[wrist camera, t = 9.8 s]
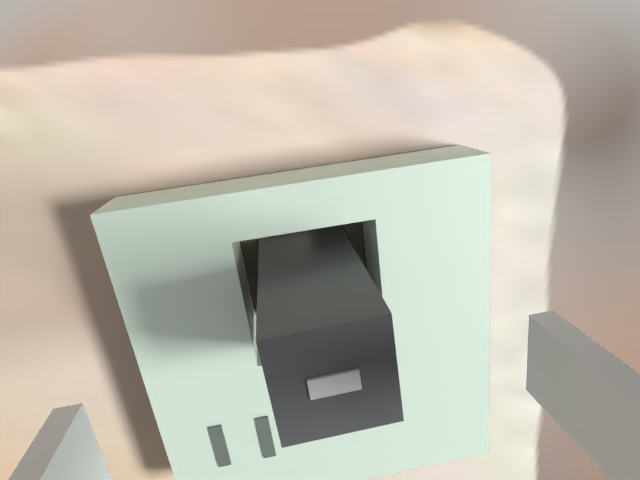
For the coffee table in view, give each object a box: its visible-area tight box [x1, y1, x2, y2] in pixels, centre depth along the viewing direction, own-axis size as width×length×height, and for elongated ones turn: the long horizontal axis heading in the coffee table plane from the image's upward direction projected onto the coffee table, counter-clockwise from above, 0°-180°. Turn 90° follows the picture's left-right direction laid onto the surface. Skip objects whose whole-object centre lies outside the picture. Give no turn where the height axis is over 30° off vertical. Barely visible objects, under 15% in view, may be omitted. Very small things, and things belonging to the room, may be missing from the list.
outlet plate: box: [90, 145, 491, 480], centre depth 21 cm, size 16×16×3 cm
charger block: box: [256, 225, 404, 448], centre depth 17 cm, size 4×4×9 cm
